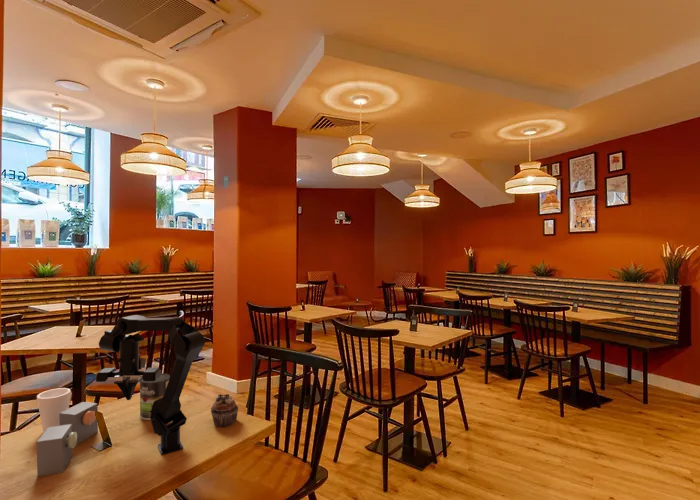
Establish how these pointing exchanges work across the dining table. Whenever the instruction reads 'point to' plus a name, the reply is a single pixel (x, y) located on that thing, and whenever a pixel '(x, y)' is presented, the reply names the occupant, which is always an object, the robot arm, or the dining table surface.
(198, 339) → the robot arm
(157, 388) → the coffee can
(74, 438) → the sage button
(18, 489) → the dining table surface
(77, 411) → the right button box
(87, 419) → the terracotta button
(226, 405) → the cupcake
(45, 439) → the left button box
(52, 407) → the foam cup
